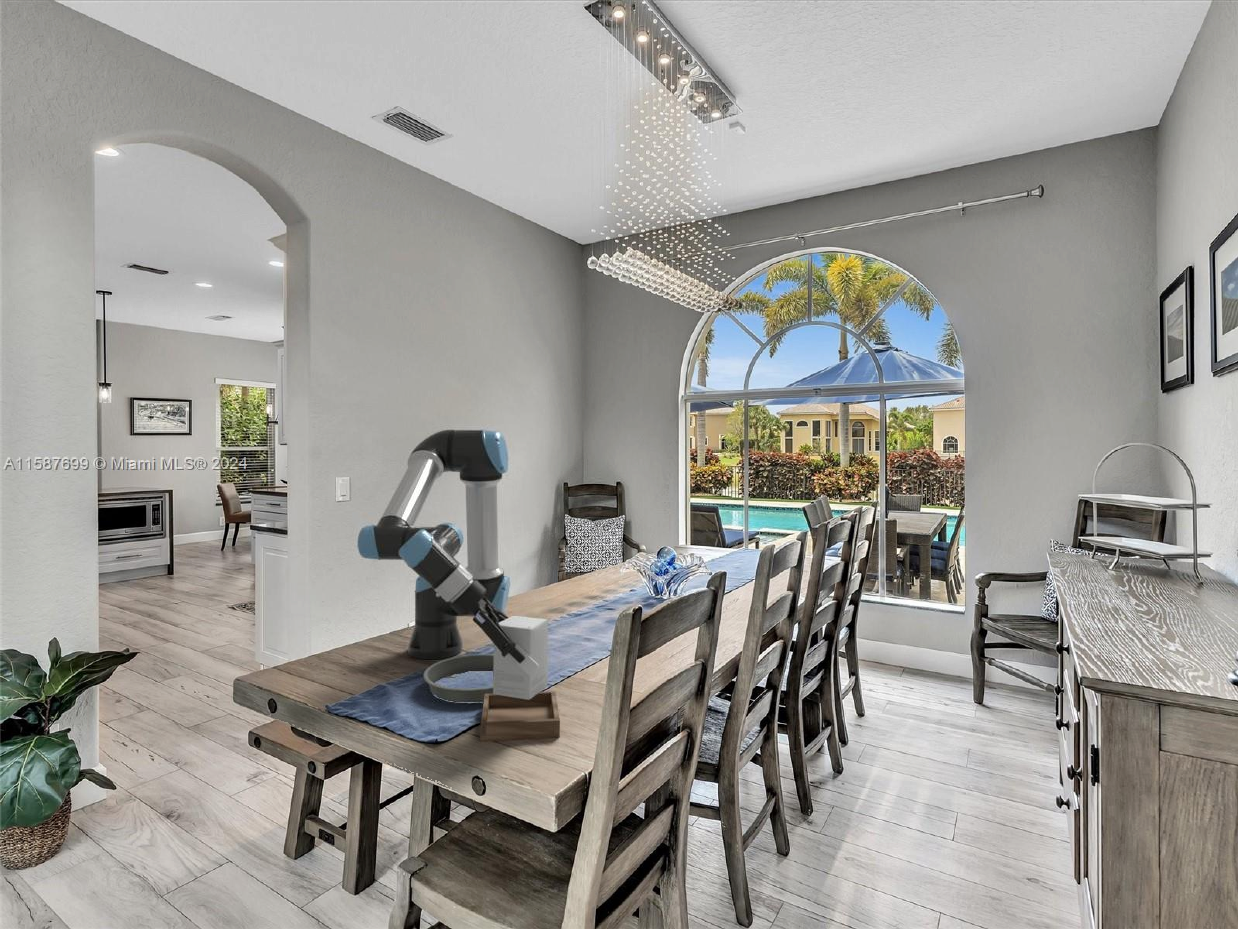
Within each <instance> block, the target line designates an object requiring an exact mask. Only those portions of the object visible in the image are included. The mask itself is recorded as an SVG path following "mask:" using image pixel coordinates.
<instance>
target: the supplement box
mask: <svg viewBox="0 0 1238 929" xmlns="http://www.w3.org/2000/svg"><path fill="white" fill-rule="evenodd" d="M499 624H500V626H501V627H502V628H503V629H504V631H505V632H506V633H507V635H508V636H509V637H510V638H511V640H512V641H513V642H514V643H515V645H516V644H518V645H519V646H520V647H521V648H522V649H523V650H524V651H525V652H526V653H527V654H528V655H529V656H530V657H531V658H532V659H533V660H534V661H535V662H536V663H537V664H538V665H539V666H538V667H537V668H536V669H535V670H534V671H533V672H532V673H531V674H530V675H528V674H527V673H526V672H525V671H524V670H523V669H522V668H521V667H520V666H519V665H518V664H517V663H516V662H515V661H514V660H512V659H511V658H510V657H509V656H508V655H506V656H505V657H503V656H502V655H501V654H502V653H501V651H500V650H499V649H498V648H497V646H496V645H495V644H494V643H493V655H494V667H493V694H495V695H502V696H508V697H514V698H520V699H527V700H530V699H531V698H532V697H534V696H535V695H536V694H538V693H539V692H543V690H544V689H545V688H547V687H548V667H549V665H548V661H549V660H548V655H549V650H548V649H549V648H548V647H549V619H547V618H538V617H529V616H520V615H512V616H510V617H509V618H508V619H506V620H503V621H501V622H499ZM506 645H507V644H506ZM506 645H505V646H506Z"/></svg>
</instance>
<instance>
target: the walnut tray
mask: <svg viewBox="0 0 1238 929" xmlns="http://www.w3.org/2000/svg"><path fill="white" fill-rule="evenodd" d="M556 693H557V692H556V691H555V690H552V691H551V690H550V691H548V690H547V691H540V692H539V693H538V694H536V695H535V696H534V697H532V698H531V699H530V700H527V699H520V698H514V697H508V696H502V695H495V694H485V696H484V703H482V704H483V705H482V714H481V721H480V742H493V741H512V740H513V741H515V740H533V739H551V738H560V737H561V736H560V733H561V720H560V719H561V718H560V711H559V707H558V700H557V694H556Z"/></svg>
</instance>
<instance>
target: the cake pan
mask: <svg viewBox="0 0 1238 929" xmlns="http://www.w3.org/2000/svg"><path fill="white" fill-rule="evenodd" d="M493 667H494V654H487V653H486V654H485V653H484V654H479V653H478V654H467V655H457V656H455V657H454V656H452V657H448V658H444V659H442V660H440V661H438V662H437V661H436V662H435V663H433V664H431V665H429V666H428V667H427V668H426V669H425V670H424V672H423V675H422V676H423V680H424V682H426V683H427V684H428V686H429V690H430V693H431V692H432V694H434V695H436V696H437V697H439V698H442V699H444V700H448V701H453V702H484V696H485V694H493V686H490V687H483V688H470V689H462V688H450V687H445V686H441V685H437V684H435V682H436V681H438V680H440V679H442V678H456V677H451V676H452V675H454V674H461V673H465V672H468V671H493ZM432 694H431V695H432Z"/></svg>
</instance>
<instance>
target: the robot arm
mask: <svg viewBox="0 0 1238 929" xmlns="http://www.w3.org/2000/svg"><path fill="white" fill-rule="evenodd" d="M508 469H509V455H508V447H507V443H506V440H505V437H504V436H503V433H501V432H499V431H496V430H487V429H445V430H440V431H437V432H434V433H432V434H431V435H429V436H428V437H426V438H424V440H422V441H421V442H420V443H418V445H416V446H415V448H414V449H413V450H412V452H411V453H410V455H409V457H408V459H407V469H406V471H405V472H404V474H403V476H402V477H401V480H400V482H399V484H398V485H397V487H396V490H395V492H394V493H393V495H392V497H391V499H390V501H389V502H388V505H387V506H386V508H385V509H384V511H383V514H382V516H381V517H380V519H379V521H378V523H377V524H376V525H374V524H371V525H365V526H364V527H362V528H361V529H360V531H359V533H358V537H357V549H358V553H359V555H360V556H361V557H362V558H364V559H370V560H379V561H381V560H382V561H384V560H385V561H387V560H389V561H394V560H395V561H397V560H399V561H402V560H403V562H404V563H405V564H406V565H407V566H408V567H409V568H410V569H411V570H412V571H413V572H415V573H416V574H417V578H416V580H415V590H414V607H415V609H414V627H413V631H412V632H411V633H412V634H411V635H410V639H409V643H408V644H407V645H408V646H407V647H408V649H407V654H408V655H409V656H410V657H413V658H416V659H419V660H420V659H421V660H437V659H438V660H440V659H448V658H452V657H454V656H456V655H457V656H458V654H460V653H461V652H463V639H462V636H461V634H460V630H459V626H458V624H457V618H458V617H466V618H467V617H468V618H469V617H471V618H472V617H473V618H472V621H473V623H475V624H476V625H477V626H478V627H479V628H480V629H481V630H482V632H483V633H484V634H485V635H486V637H488V639H489V640H490V641H491V642H492V643H493V645H494V644H495V645H496V646H497V648H498V649H499V650H500V651H501V653H502V654H501V655H502V656H503V657H505V656H506V655H508V656H509V657H510V658H511V659H512V660H514V661H515V662H516V663H517V664H518V665H519V666H520V667H521V668H522V669H523V670H524V671H525V672H526V673H527V674H528V675H530V674H531V673H532V672H533V671H534V670H535V669H536V668H537V667H538V666H539V665H538V664H537V663H536V662H535V661H534V660H533V659H532V658H531V657H530V656H529V655H528V654H527V653H526V652H525V651H524V650H523V649H522V648H521V647H520V646H519V645H518V644H516V645H515V643H514V642H513V641H512V640H511V638H510V637H509V636H508V635H507V633H506V632H505V631H504V629H503V628H502V627H501V626H500V624H499V622H501V621H503V620H506V619H508V618H510V617H509V616H507V615H506V614H505V613H504V612H505V610H506V607H507V603H508V599H509V593H510V588H511V585H510V584H511V579H510V576H507V575H504V574H505V573H504V567H502V566H501V565H499V545H498V544H499V536H498V535H499V533H498V532H499V531H498V530H499V528H498V483H499V482H500V481H501V480H502V479H503V474H506V473H507V472H508ZM448 472H453V473H454V472H455V473H459V480H460V481H461V482H462V484H464V485H465V510H466V512H465V513H466V514H465V515H466V546H467V547H466V548H467V549H466V552H467V555H466V556H467V566H466V567H465V566H463V565H462V564H461V563H460V562H459V561H458V560H457V559H456V558H455V556H456V555H457V554H458V553H459V552H460V550H461V548H462V546H463V543H464V538H465V537H464V535H463V531H462V530H461V528H460V527H459V526H458V525H456V523H455V524H454V523H452V522H443V523H440V524H438V525H436V526H414V525H415V523H416V521H417V520H418V516H419V515H420V513H421V511H422V509H423V506H424V504H425V503H426V500H427V498H428V496H429V494H430V492H431V490H432V488H433V485H434V483H435V481H436V480H438V479H439V478H440V477H441V476H442V475H443V473H448ZM506 644H507V645H506ZM505 645H506V646H505Z"/></svg>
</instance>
